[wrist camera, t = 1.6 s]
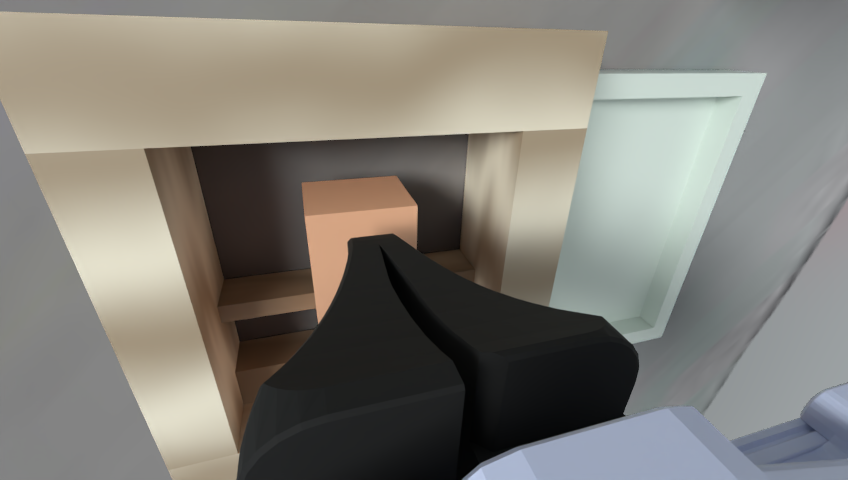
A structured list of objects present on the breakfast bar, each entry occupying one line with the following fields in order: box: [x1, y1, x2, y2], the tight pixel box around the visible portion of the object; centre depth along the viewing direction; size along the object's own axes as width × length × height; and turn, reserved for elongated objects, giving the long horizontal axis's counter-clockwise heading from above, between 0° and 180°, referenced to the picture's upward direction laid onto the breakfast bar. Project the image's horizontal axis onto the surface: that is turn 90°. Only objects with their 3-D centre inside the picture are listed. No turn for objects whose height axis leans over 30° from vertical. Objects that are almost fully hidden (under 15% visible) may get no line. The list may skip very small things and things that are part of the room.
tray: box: [549, 69, 767, 344], centre depth 22 cm, size 16×11×2 cm
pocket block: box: [0, 12, 608, 480], centre depth 17 cm, size 18×16×4 cm
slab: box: [302, 176, 418, 324], centre depth 16 cm, size 10×4×3 cm, turn 178°
